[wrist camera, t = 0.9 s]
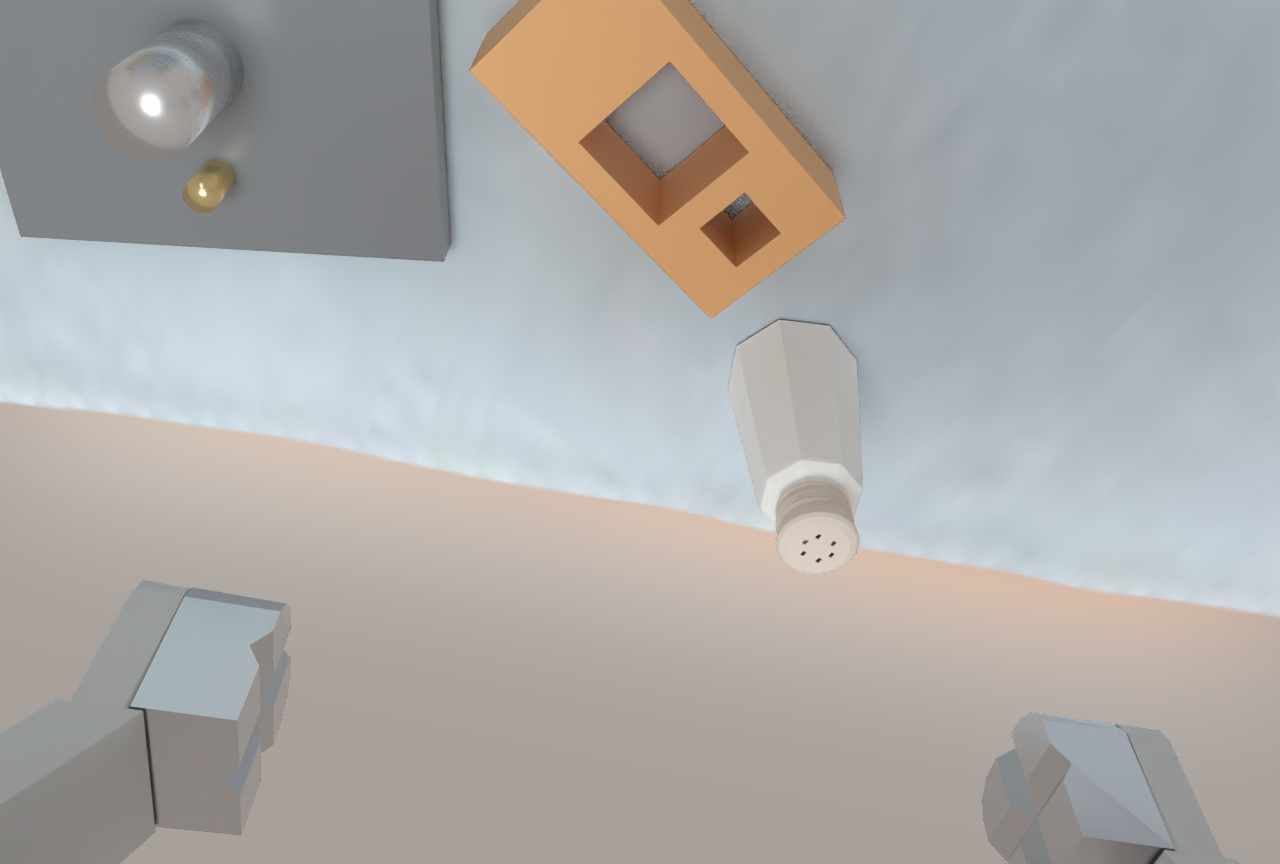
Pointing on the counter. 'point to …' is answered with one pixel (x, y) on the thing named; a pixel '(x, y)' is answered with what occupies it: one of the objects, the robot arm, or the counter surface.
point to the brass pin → (209, 185)
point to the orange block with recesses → (704, 181)
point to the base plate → (237, 128)
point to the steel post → (168, 90)
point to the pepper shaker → (802, 439)
